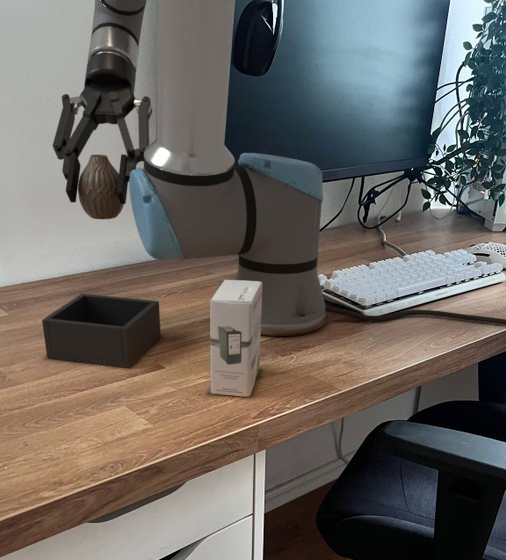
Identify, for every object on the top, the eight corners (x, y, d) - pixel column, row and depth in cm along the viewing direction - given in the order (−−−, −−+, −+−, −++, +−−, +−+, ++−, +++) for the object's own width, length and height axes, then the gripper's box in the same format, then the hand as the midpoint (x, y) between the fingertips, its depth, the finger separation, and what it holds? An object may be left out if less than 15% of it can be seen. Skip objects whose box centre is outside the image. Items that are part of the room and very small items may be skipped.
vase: (131, 219, 105) (127, 157, 100) (86, 223, 102) (80, 159, 98) (119, 211, 110) (115, 151, 106) (76, 214, 107) (70, 153, 103)
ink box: (223, 366, 89) (223, 277, 84) (260, 369, 89) (263, 279, 83) (209, 394, 82) (208, 298, 76) (250, 398, 82) (252, 301, 76)
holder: (160, 337, 98) (159, 301, 95) (129, 368, 88) (126, 329, 86) (85, 328, 100) (81, 293, 98) (46, 358, 91) (41, 319, 88)
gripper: (177, 89, 110) (166, 214, 104) (56, 86, 111) (37, 210, 105) (171, 51, 103) (158, 183, 97) (41, 48, 104) (20, 179, 98)
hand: (96, 197), depth 101 cm, fingers closed on vase, 7 cm apart
